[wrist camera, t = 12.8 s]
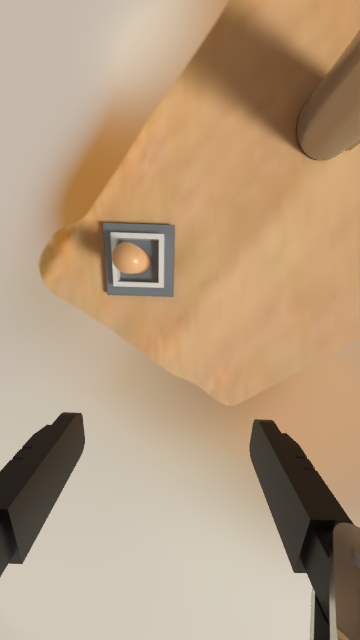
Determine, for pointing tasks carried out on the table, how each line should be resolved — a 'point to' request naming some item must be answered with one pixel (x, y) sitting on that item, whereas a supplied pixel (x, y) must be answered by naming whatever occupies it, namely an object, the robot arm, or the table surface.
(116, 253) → the brown peg
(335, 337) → the table surface
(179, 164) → the table surface
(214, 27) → the table surface
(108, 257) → the housing
